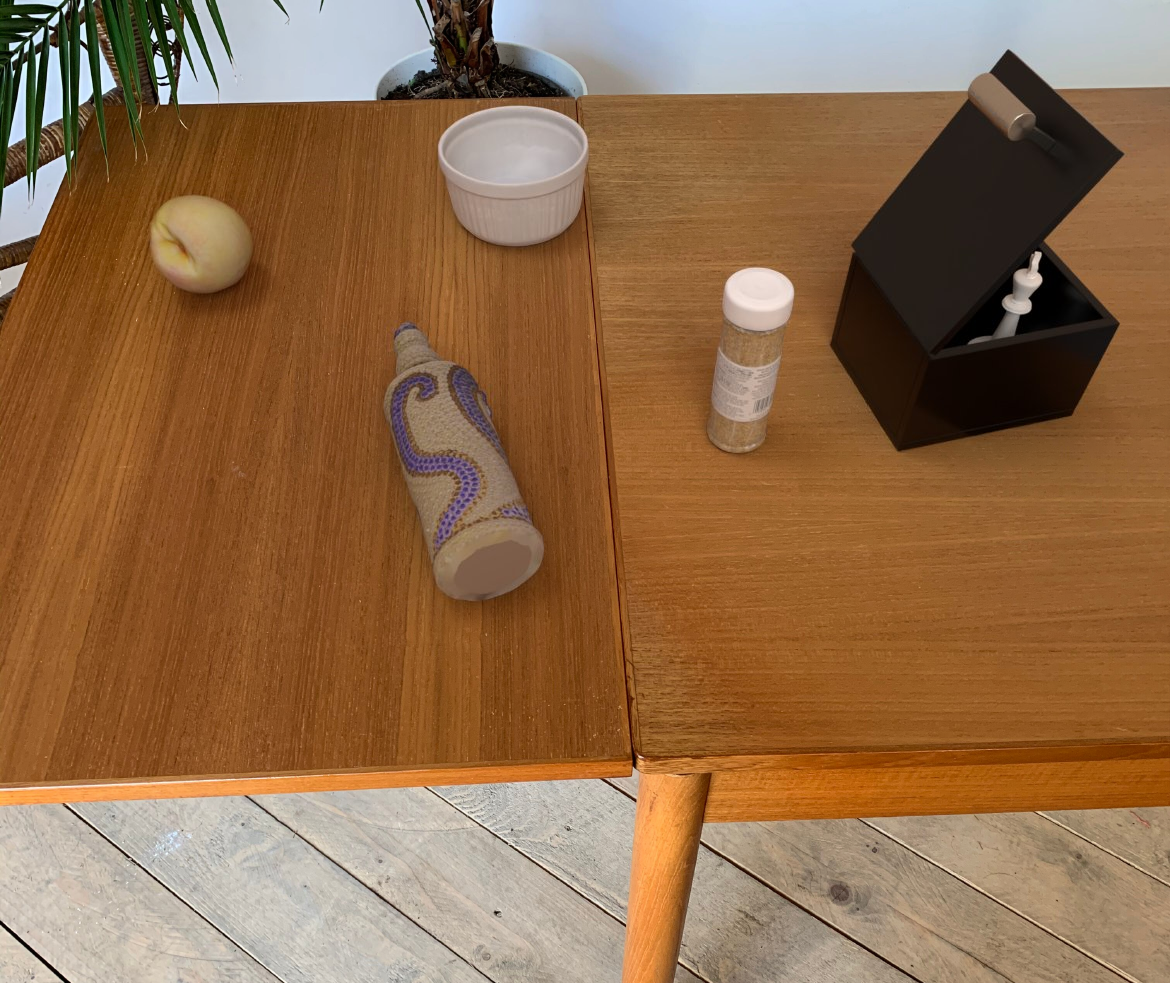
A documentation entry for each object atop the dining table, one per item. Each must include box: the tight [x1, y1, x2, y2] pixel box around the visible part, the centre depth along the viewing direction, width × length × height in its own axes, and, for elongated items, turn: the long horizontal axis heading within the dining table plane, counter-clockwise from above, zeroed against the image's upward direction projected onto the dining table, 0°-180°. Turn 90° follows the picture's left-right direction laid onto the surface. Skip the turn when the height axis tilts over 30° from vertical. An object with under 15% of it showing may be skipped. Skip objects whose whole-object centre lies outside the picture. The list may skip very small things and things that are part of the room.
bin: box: [829, 240, 1121, 452], centre depth 76 cm, size 15×13×9 cm
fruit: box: [149, 194, 254, 294], centre depth 84 cm, size 8×8×8 cm
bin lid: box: [850, 48, 1125, 356], centre depth 66 cm, size 16×13×5 cm
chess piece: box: [967, 252, 1042, 345], centre depth 76 cm, size 5×5×10 cm
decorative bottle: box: [382, 321, 545, 602], centre depth 72 cm, size 26×8×7 cm, turn 18°
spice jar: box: [706, 266, 795, 454], centre depth 71 cm, size 5×5×14 cm
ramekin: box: [437, 105, 590, 247], centre depth 91 cm, size 13×13×7 cm
